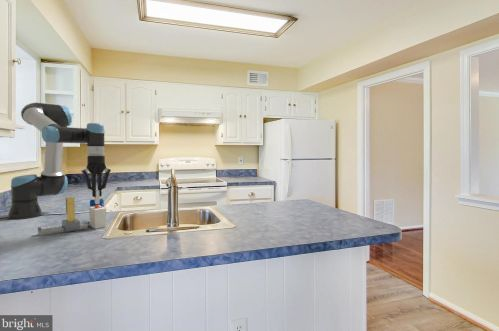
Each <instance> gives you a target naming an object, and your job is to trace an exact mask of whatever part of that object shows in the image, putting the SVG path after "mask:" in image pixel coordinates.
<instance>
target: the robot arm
mask: <svg viewBox="0 0 499 331" xmlns="http://www.w3.org/2000/svg"><path fill="white" fill-rule="evenodd" d="M20 116H21V119H22V120H23V121H24V122H25V123H26V124H28V125H31V126H33V127H34V128H36V129H37V130H38V131H39V132H41V138H42V140H43V141H44V142H45V145H44V146H45V150H44V168H43V169H44V170H42V172H40V175H39V176H38V175H37V174H35V173H32V174H24V175H18V176H15V177H12V178H11V179H10V180H11V181H10V190H11V191H10V192H11V205H10V207H9V211H8V215H7V216H8V219H10V220H20V219H31V218H35V217H36V218H37V217H39V216H42V215H43V214H42V212H43V211H42V209H41V206H40V204H39V201H38V197H46V196H57V195H62V194H64V193H65V192H66V190H67V189H68V183H69V182H68V177H67V176H66V175H65V173H64V172H63V171H62V164H63V150H64V149H63V148H64V144H65V143H66V144H83V145H84V144H86V147H87V149H86V152H87V153H86V155H87V157H86V158H87V159H86V160H87V162H86V163H87V165H86V168H84V169H82V170H81V173H82V174H83V177H84V180H85V184H86V187H87V189H88V190H91V192H92V193H91V194H92V195H91V196H92V198H95V204H100V199H99V198H101V197H102V190H105V189H106V187H107V183H108V180H109V179H108V178H109V174H110V173H111V171H112V170H111V169H110V168H108V167H107V166H106V157H105V155H106V154H105V131H106V130H105V126H104V124H103V123H98V122H88V123H87V124H86V128H85V127H84V128H83V127H70V126H71V125H72V123H73V115H72V113H71V110H70V108H69V107H68V106H66V105H62V104H53V103H45V102H43V103H42V102H32V103H29V104H26V105H25V106H23V108H22V109H21V112H20ZM88 172H89V174H91V181H90V177H89V174H88ZM103 172H104V175H103ZM102 176H103V178H102ZM96 177H97V178H96ZM102 179H103V180H102Z"/></svg>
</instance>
